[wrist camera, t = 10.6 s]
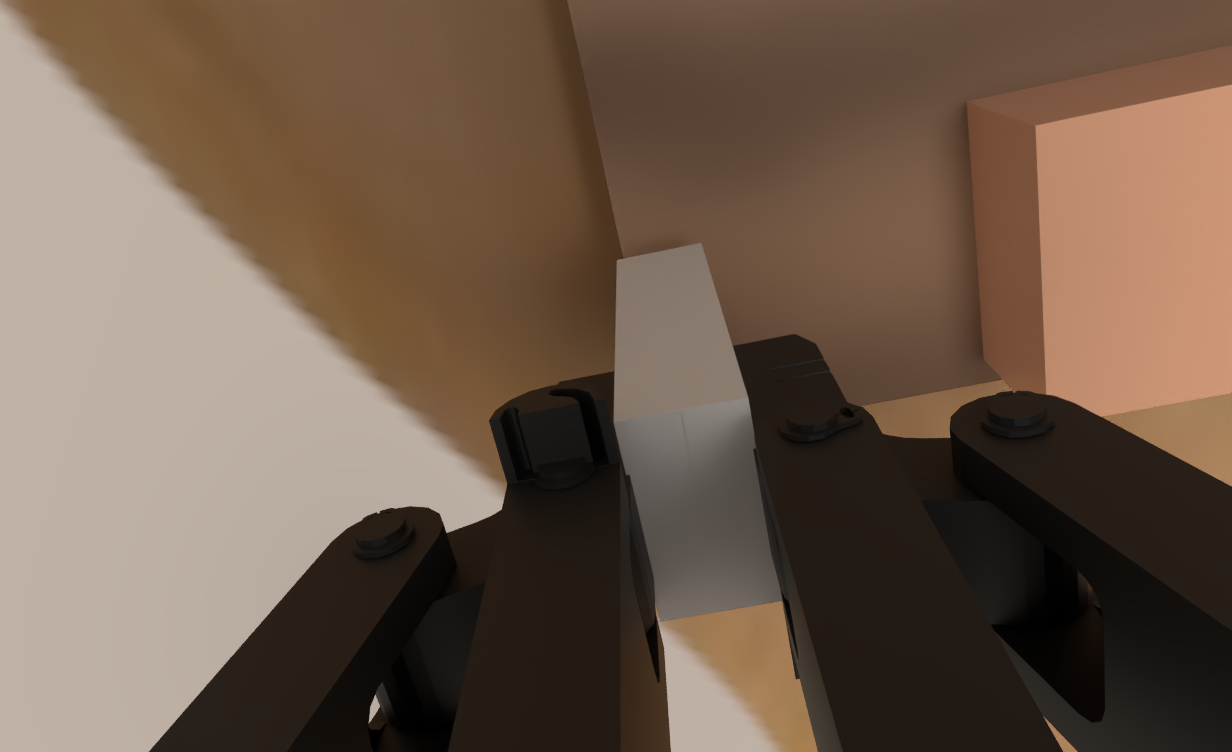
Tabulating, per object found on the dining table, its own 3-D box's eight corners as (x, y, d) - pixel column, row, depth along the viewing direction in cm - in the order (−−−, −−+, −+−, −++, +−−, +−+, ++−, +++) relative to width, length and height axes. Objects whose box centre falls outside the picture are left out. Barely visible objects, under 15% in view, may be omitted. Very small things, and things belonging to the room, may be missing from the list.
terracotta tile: (966, 101, 17) (1035, 125, 14) (1261, 38, 16) (1393, 50, 13) (983, 359, 18) (1048, 426, 16) (1247, 309, 18) (1361, 369, 15)
